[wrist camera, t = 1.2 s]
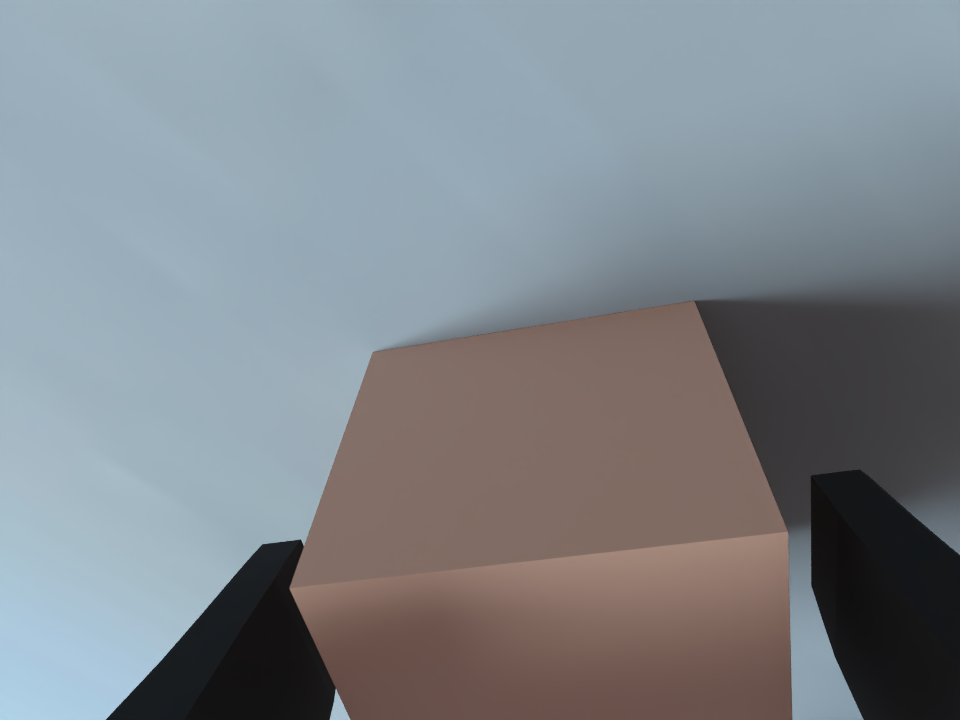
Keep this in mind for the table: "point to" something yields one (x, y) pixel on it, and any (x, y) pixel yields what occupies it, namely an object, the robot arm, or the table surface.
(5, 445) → the table surface
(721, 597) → the terracotta cube
